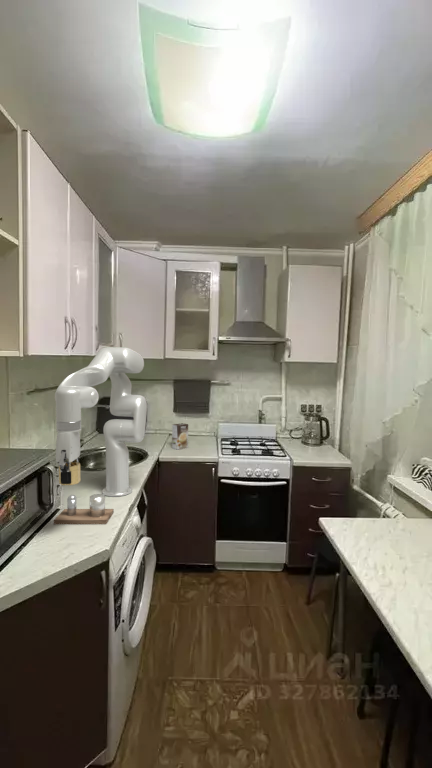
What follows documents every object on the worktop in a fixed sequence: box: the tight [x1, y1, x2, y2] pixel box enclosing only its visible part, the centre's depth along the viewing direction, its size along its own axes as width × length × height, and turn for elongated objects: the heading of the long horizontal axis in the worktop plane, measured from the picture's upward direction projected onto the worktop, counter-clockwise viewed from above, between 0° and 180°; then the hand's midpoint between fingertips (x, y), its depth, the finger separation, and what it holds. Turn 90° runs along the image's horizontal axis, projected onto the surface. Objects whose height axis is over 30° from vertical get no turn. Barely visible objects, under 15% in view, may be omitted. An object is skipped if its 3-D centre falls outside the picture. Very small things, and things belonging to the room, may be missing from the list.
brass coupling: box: [58, 461, 81, 486], centre depth 122 cm, size 6×6×6 cm
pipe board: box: [53, 508, 114, 525], centre depth 132 cm, size 10×18×2 cm, turn 92°
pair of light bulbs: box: [66, 493, 106, 517], centre depth 132 cm, size 5×13×7 cm, turn 91°
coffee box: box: [171, 423, 189, 450], centre depth 248 cm, size 9×6×16 cm
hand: (69, 479), depth 122 cm, fingers closed on brass coupling, 6 cm apart
